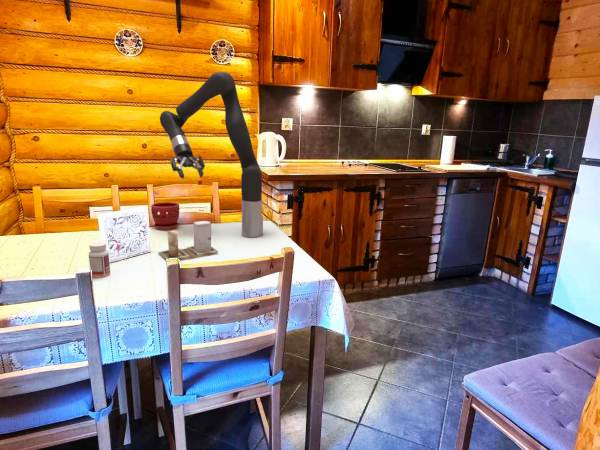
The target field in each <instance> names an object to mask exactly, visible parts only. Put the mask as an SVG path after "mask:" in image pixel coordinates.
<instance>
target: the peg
mask: <svg viewBox="0 0 600 450" xmlns="http://www.w3.org/2000/svg"><path fill="white" fill-rule="evenodd" d="M178 233H179V232H178V230H174V229H171V230H167V242H168V243H167V245H168V247H167V248H168V250H169V257H171V258H175V257H178V256H179V255H178V248H179V239H178V236H179V235H178Z"/></svg>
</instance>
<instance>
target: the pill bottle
mask: <svg viewBox="0 0 600 450" xmlns="http://www.w3.org/2000/svg"><path fill="white" fill-rule="evenodd" d="M88 246H89V253H88V261H89V262H88V263H89V268H90V267H91V270H92V276H91V277H93V278H95V279H97V278H104V277H108V276H109V275H110V274H111V267H110V265H111V264H110V256H109V255H110V253H109V250H108V249H107V243H106V242H104V241H95V242H91V243H89V244H88Z"/></svg>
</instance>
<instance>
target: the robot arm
mask: <svg viewBox="0 0 600 450" xmlns="http://www.w3.org/2000/svg"><path fill="white" fill-rule="evenodd" d="M234 79H235V78H233V76H232V74H230V73H229V72H226V71H219V72H218V71H217V72H214V73H212V74H211V75H210V76H209V77H208V78H207V79H206V81H205V82H204V83H203V84H202V85H201V86H200V87H199V88H198V89H197V90H196V91H195V92H193V94H192V93H191V95H190V96H189V97H187V98H186V99H185V100H184V101H182V102H181V103H179V104H178V105H177V106H176V108H175V111H176V114H175V113H174V112H172V111H169V110H164V111H163V112H161V113H160V116H159V123H160V125H161V126H162V128H163V130H164V131H165V133H166V134H167V136H168V137H169V141H170V142H171V147H172V150H173V153H174V156H175V157H174V156H172V157H171V158H170V165H171V169H172V172H177V173H178V176H179V178H181V179H183V180H184V178H185V173H184V171H183V167H184V168H192V169H194V170H197V173H198V176H199V178H203V176H204V174H205V173H204V171H203V170H204V169H205V167H206V165H205V162H204V160H203V158H202V156H198V157H195V156H194V153H193V152H194V151H192V148H191V145H190V142H189V141H188V138H187V136H186V133H185V131H184V130H183V127H184V126H185V124H186V122H187V120H189V119H190V118H191V117H192V116H193V115H195V114H196V113H197V112H198V111H200V109H202V107H203V106H204V105H205V104H206V103H207V102H208V101H210V100H212V99H213V98H215V97H218V96H219V95H220V97H221V99H222V102H223V105H224V111H225V114H224V120H225V121H224V123H225V130H226V132H227V135H228V138H229V140H230V143H231V145H232V148H233V149H234V151H235V153H236V154H237V157H238V159H239V164H240V167H241V175H240V176H241V178H240V180H241V181H240V183H241V185H240V186H241V236H242V237H244V238H250V239H251V238H258V237H261V236H263V235H264V215H262V208H263V207H262V205H263V203H262V201H263V199H262V198H263V197H262V195H263V194H262V193H263V192H262V189H263V188H262V186H263V184H262V183H263V182H262V181H263V179H262V178H263V172H262V169H261V167H260V165H259V163H258V161H257V157H256V156H255V154H254V149H253V143H252V138H251V135H250V132H249V128H248V125H247V122H246V119H245V116H244V114H243V113H244V112H243V109H242V107H241V104H240V101H239V97H238V91H237V86H236V82H235V80H234ZM177 163H178V164H179V165H178V166H177Z"/></svg>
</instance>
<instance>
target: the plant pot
mask: <svg viewBox="0 0 600 450" xmlns="http://www.w3.org/2000/svg"><path fill="white" fill-rule="evenodd" d="M150 207H151V216H152V220H153V222H154V224H153V226H154V228H155V229H157V230H161V231H163V230H164V231H166V230H167V231H171V230H174V229H176V228H178V227H179V225H180V224H179V223H178V221H179V218H180V204H179V202H178V203H177V202H170V201H169V202H166V201H165V202H156V203H152V204H151V205H150Z"/></svg>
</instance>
